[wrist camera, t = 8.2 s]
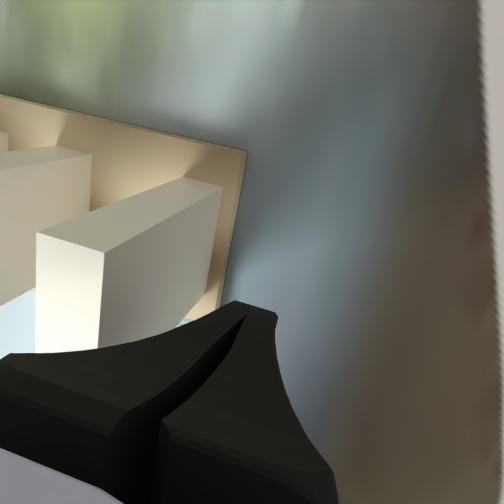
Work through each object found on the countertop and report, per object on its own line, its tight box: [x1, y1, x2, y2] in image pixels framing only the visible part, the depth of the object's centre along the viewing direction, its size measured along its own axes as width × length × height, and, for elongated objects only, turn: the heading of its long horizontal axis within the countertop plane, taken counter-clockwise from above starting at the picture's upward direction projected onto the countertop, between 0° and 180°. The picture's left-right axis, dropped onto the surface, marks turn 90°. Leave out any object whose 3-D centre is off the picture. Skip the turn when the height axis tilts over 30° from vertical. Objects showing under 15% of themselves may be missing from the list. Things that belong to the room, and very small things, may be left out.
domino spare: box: [35, 177, 223, 353], centre depth 15 cm, size 5×2×8 cm, turn 169°
